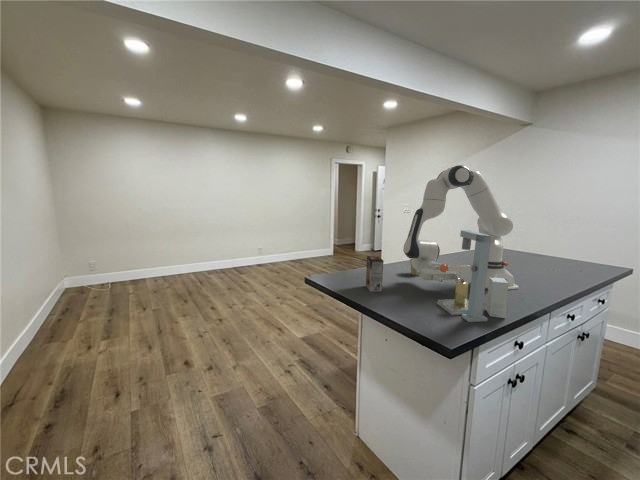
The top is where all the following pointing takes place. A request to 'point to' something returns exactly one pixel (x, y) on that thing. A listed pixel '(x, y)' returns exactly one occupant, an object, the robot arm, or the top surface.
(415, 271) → the flower pot
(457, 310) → the press bed
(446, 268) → the lever
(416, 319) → the top surface
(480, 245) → the frame
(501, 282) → the skincare box
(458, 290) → the cylinder
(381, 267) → the coffee box
